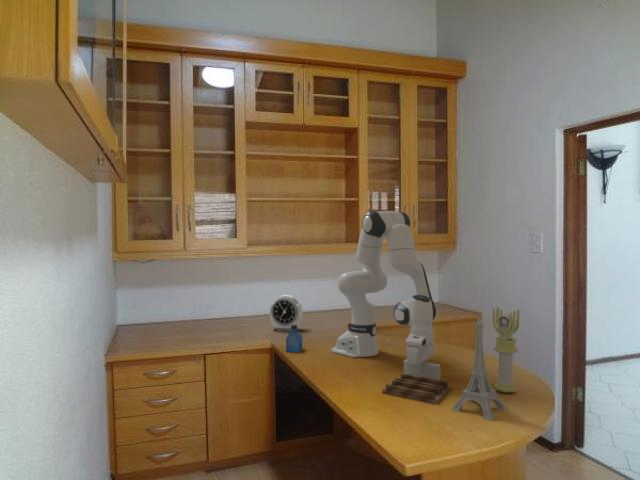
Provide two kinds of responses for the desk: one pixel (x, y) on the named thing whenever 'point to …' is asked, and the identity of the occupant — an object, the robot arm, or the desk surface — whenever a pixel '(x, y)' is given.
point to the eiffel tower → (480, 382)
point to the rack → (418, 388)
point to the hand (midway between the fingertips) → (421, 371)
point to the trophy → (505, 348)
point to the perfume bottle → (294, 340)
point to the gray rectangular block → (424, 370)
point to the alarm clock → (285, 313)
